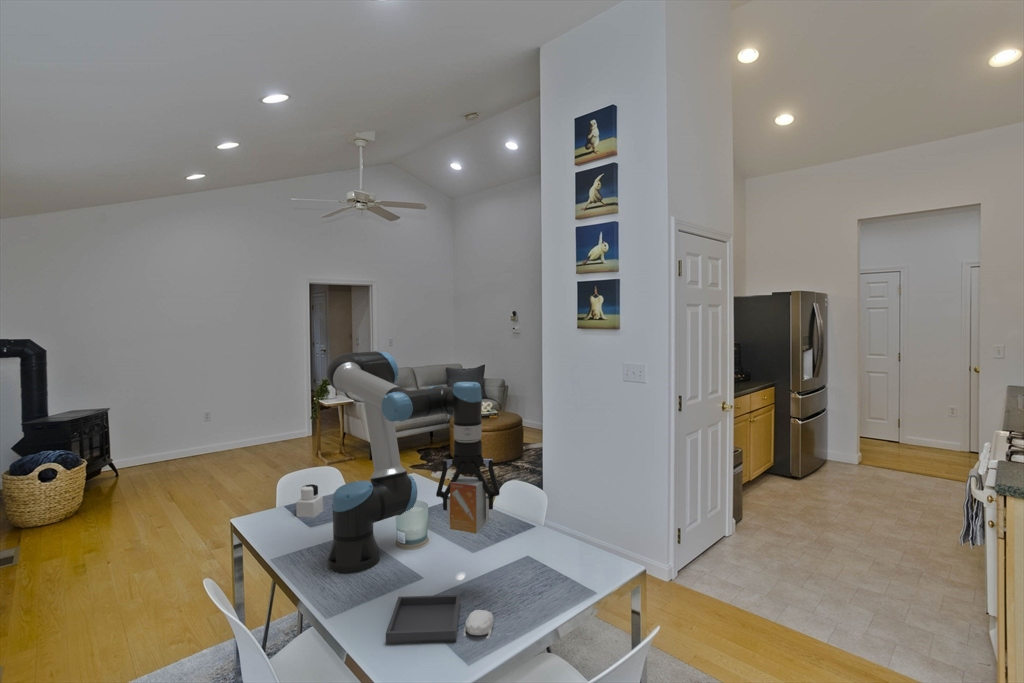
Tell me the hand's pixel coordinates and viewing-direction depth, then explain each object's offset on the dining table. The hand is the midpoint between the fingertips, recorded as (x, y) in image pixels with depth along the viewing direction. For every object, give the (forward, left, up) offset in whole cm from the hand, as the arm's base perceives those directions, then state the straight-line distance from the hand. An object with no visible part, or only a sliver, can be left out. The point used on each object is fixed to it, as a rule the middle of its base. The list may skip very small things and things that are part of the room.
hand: (468, 521), depth 136 cm
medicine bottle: (-63, +57, -19) cm, 87 cm away
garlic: (+3, -19, -19) cm, 27 cm away
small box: (0, 0, -2) cm, 2 cm away
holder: (-10, -16, -18) cm, 26 cm away
